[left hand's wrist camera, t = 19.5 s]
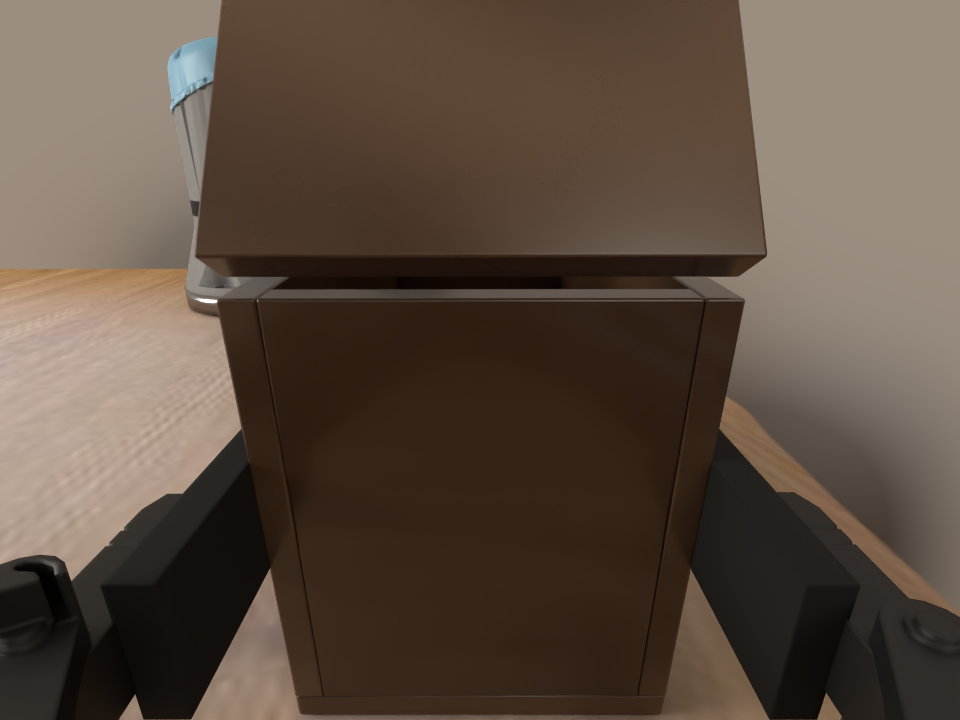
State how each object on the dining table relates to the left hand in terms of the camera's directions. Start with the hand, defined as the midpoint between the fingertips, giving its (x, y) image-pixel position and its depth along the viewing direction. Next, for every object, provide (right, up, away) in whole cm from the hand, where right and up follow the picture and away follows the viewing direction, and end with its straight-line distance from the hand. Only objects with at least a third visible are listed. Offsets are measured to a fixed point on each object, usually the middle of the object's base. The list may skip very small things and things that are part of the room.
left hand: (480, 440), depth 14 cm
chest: (0, -4, +7) cm, 8 cm away
